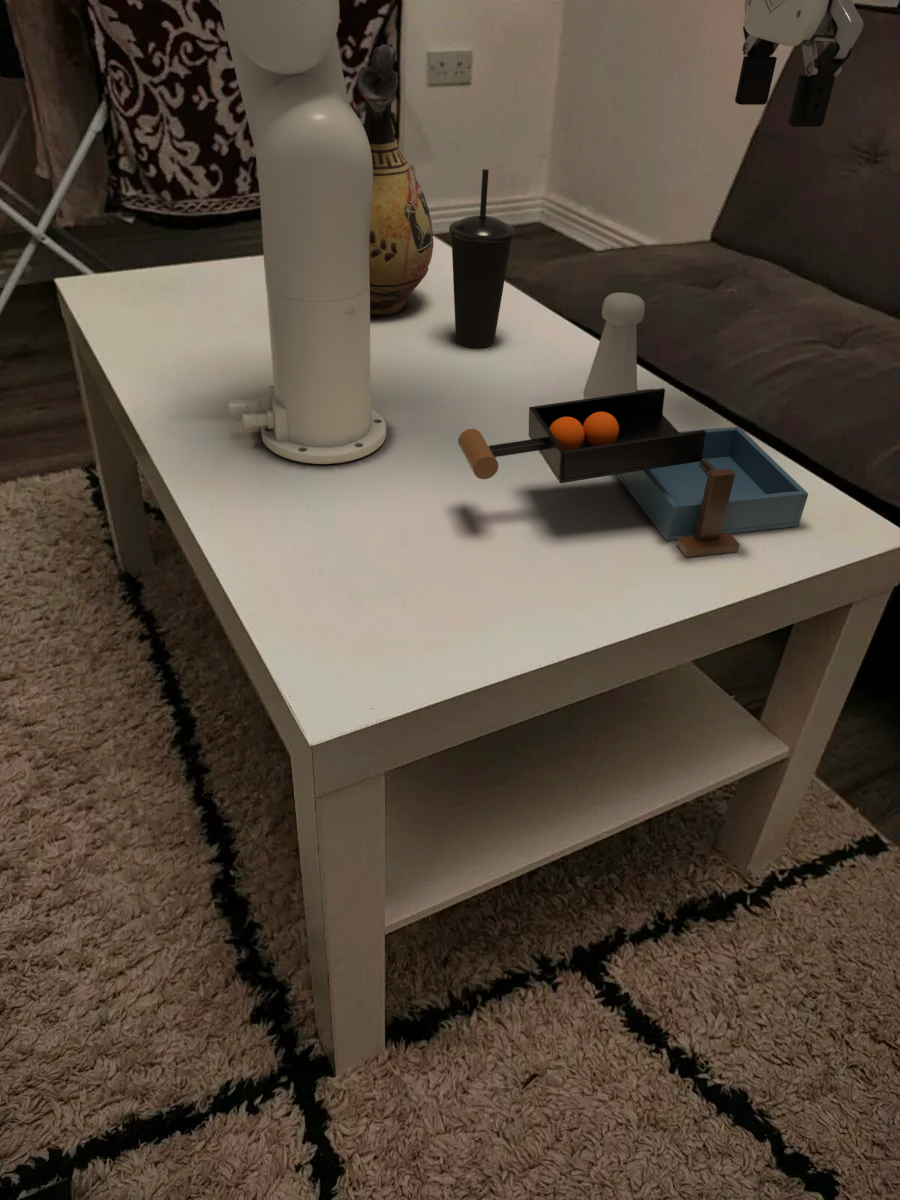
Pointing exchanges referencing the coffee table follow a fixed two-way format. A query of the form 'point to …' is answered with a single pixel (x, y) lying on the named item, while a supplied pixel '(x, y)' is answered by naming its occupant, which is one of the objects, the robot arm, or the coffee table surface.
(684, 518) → the tray
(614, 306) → the salt shaker
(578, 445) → the ball
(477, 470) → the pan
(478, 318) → the drinking cup
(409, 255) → the ceramic jug
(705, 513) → the stand
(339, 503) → the coffee table surface
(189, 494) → the coffee table surface
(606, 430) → the ball
